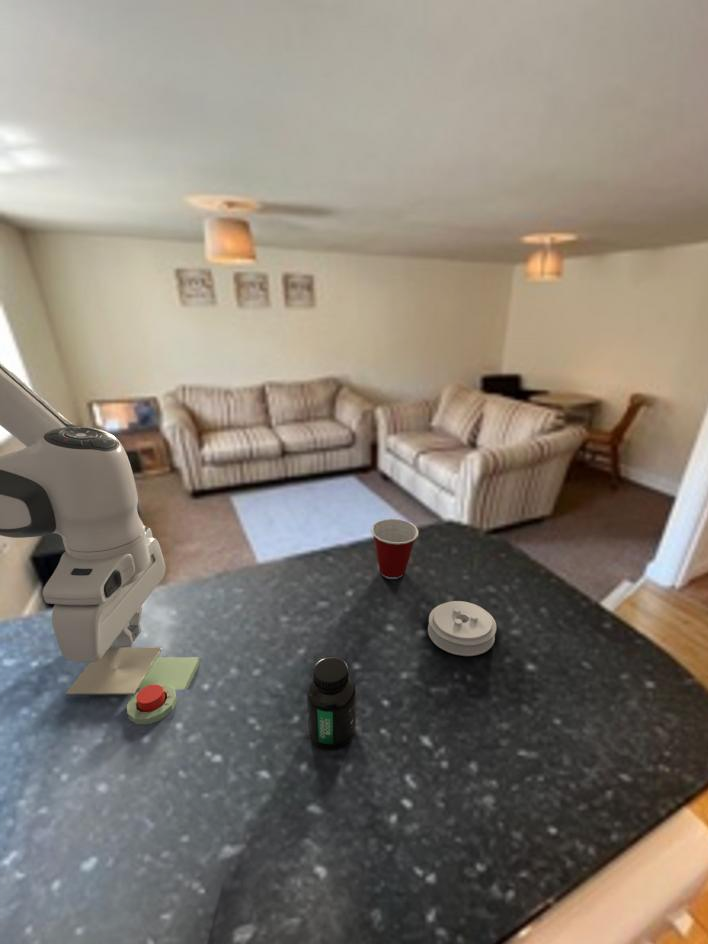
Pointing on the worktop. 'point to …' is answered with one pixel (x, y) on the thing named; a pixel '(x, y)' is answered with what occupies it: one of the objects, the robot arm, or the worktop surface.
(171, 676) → the green flat piece
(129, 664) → the plate
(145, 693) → the button
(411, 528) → the plastic cup
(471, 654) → the lid
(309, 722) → the supplement bottle
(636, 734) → the worktop surface
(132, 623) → the robot arm
